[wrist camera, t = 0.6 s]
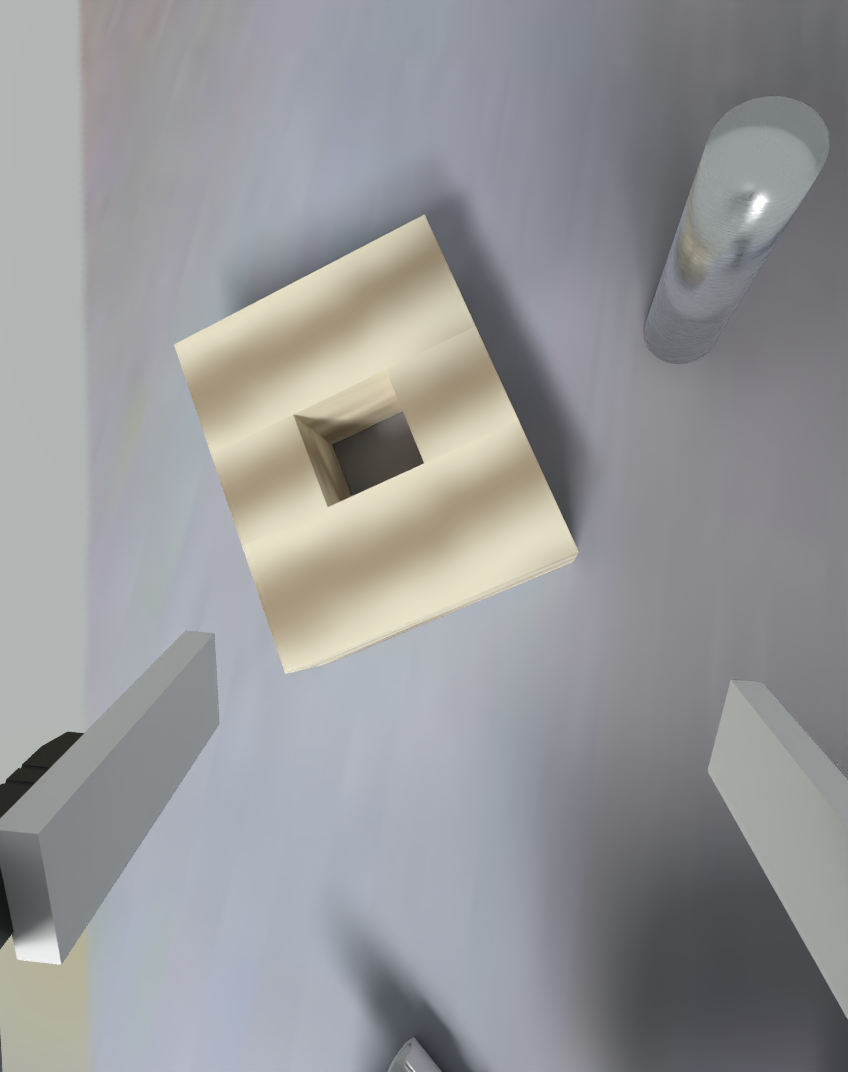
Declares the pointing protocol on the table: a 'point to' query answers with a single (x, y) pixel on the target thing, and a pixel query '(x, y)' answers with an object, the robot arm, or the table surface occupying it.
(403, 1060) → the portable electronic device stand
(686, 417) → the table surface
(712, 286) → the steel pin
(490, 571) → the block
